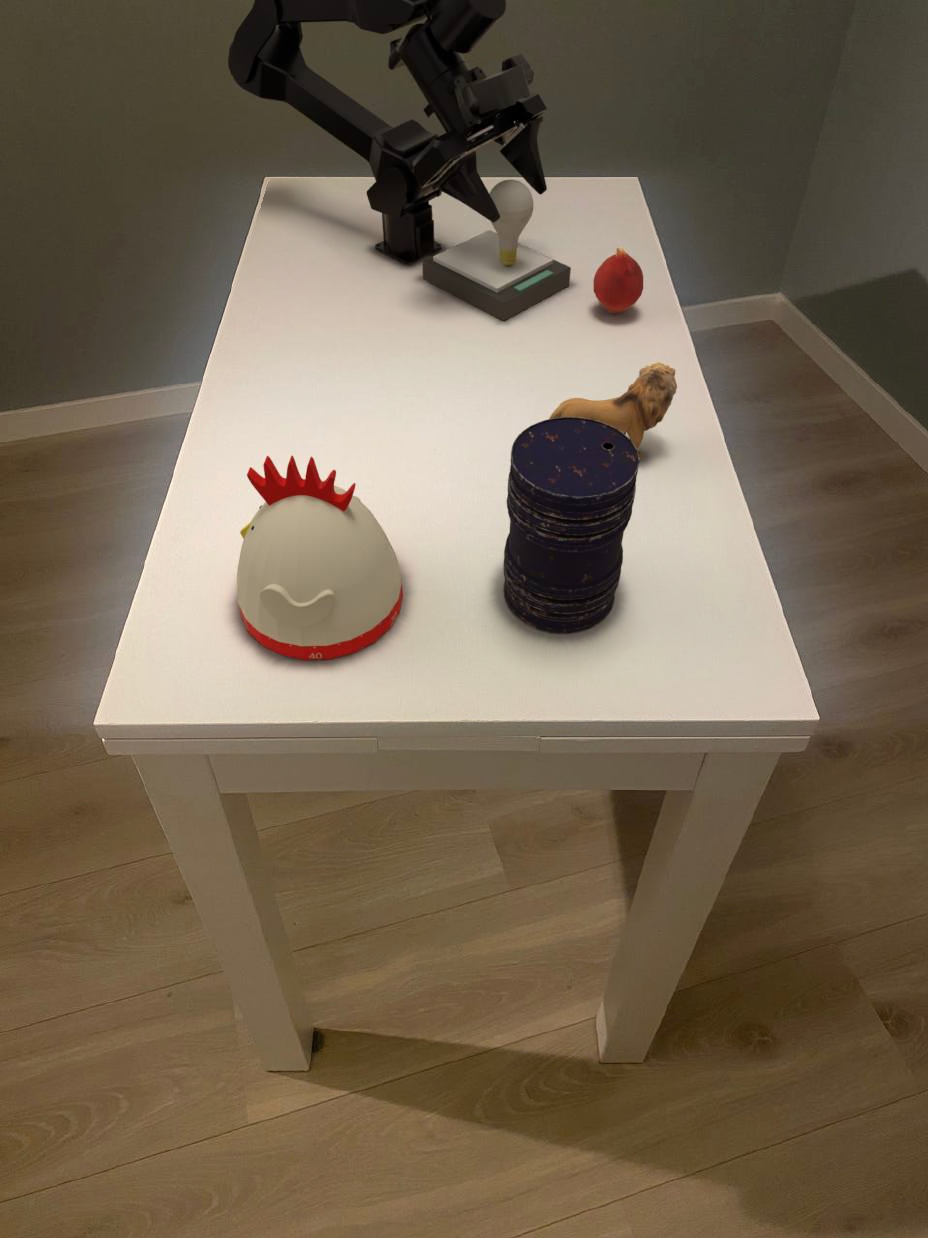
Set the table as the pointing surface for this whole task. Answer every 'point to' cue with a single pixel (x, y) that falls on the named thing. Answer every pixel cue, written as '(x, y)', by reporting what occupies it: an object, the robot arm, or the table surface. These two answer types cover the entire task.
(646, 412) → the lion figurine
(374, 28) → the robot arm
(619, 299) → the onion
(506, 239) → the light bulb
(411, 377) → the table surface
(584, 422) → the rusty blue oil drum
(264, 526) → the kitchen timer
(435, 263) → the kitchen scale
